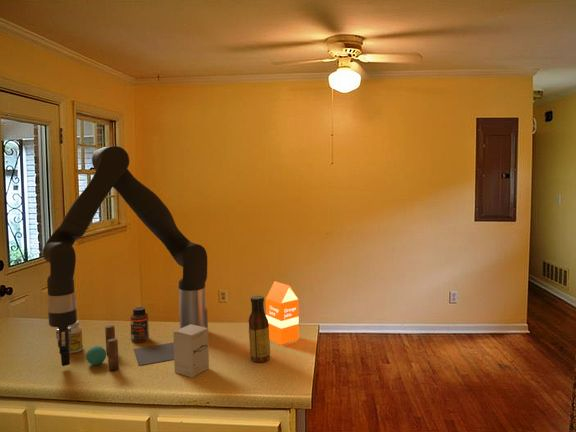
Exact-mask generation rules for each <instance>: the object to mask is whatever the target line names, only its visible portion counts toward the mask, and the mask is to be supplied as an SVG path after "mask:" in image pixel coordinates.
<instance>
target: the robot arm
mask: <svg viewBox="0 0 576 432" xmlns="http://www.w3.org/2000/svg"><path fill="white" fill-rule="evenodd" d="M91 164H92V167H93V168H94V170H95V172H94V175H93V176H92V178H91V180H90V181H89V183H88V184H87V186H86V187H85V188H84V190H83V191H82V192H81V193H80V194H79V195H78V197H76V199H75V200H74V201H73V203H72V204H71V206H70V208H69V209H68V211H67V212H66V215H64V218H63V219H62V221H61V223H60V224H59V226H58V227H57V228H56V229H55V231H54V232H53V233H52V234H51V236H50V237H49V238H48V239H47V241H46V243H45V244H44V246H43V249H42V257H43V258H44V260H45V261H46V262H47V263H49V265H50V268H49V269H50V272H49V273H50V274H49V276H48V277H47V281H46V284H47V285H46V287H47V314H48V316H47V318H48V326H50V327H51V328H58V329H56V332H55V336H56V337H55V338H56V341H57V347H58V349H59V351H58V352H59V355H60V358H61V359H60V360H61V366H62V367H65V366H69V365H70V364H71V362H70V361H71V360H70V356H71V355H70V354H71V353H70V345H71V328H68V326H69V325H73V324H75V323H76V322H77V320H78V312H77V299H76V297H77V296H76V294H75V281H74V275H75V271H76V270H75V269H76V261H77V259H76V250H75V249H74V247H73V245H74V244H75V242H76V241H77V240H78V239H80V238H82V237H83V236H84V235H85V233H86V232H87V229H88V228H89V227H90V225H91V223H92V221H93V219H94V217H95V215H96V214H97V212H98V211H99V208H100V207H101V205H102V203H104V200H105V199H106V197H107V196H108V194H109V193H110V191H111V190H112V189H114V190H116V192H117V193H118V194H119V195H120V196H121V198H122V199H123V201H124V202H125V203H126V204H127V206H129V208H130V209H131V210H132V211H133V212H134V214H135V215H136V216H137V217H138V218H139V220H140V221H141V222H142V223H143V225H145V226H146V228H148V229H149V231H150V232H151V233H152V234H153V235H154V236H155V237H156V238H157V239H158V240H159V241H160V242H161V243H162V244H163V245H164V247H165V248H166V249H167V251H168V252H169V254H170V255H171V256H172V258H173V260H174V261H175V263H176V264H178V265H179V266H180V267H182V278H180V279H179V281H178V302H179V303H178V304H179V329H181V328H183V327H185V326H188V325H190V324H192V325H196V326H201V327H205V328H208V329H209V326H208V325H209V324H208V321H209V320H208V308H207V306H206V305H207V303H206V282H207V279H208V254H207V251H206V249H205V247H204V246H203V245H201V244H198V243H194V242H192V241H190V240H189V239H188V238H187V237H186V236H185V235H184V233H182V232H181V231H180V229H179V227H178V226H177V224H176V222H175V219H174V218H173V215H172V212H171V210H169V208H168V207H167V205H166V204H165V203H164V202H163V201H162V200H161V198H160V197H159V196H158V195H157V194H156V193H155V192H154V191H152V190H151V189H150V188H149V187H147V186H146V185H145V184H143V183H142V182H141V181H140V180H138V179H137V178H136V177H135V176H134V175H133V174H132V173H131V171H130V170H129V169H128V168H129V166H130V155H129V154H128V152H127V151H126V149H125V148H123V147H121V146H118V145H109V146H105V147H101V148H98V149H96V150H95V151H94V152H93V154H92V158H91Z"/></svg>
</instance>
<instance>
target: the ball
mask: <svg viewBox="0 0 576 432" xmlns="http://www.w3.org/2000/svg"><path fill="white" fill-rule="evenodd" d="M106 357H107V354H106V349H105V348H104V347H102V346H98V345H95V346H92V347H91V348H89V349H88V350H87V352H86V356H85V359H86V361H87V362H88V364H90V365H92V366H99V365H101V364H102V363H104V362H105V360H106Z"/></svg>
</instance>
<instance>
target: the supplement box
mask: <svg viewBox="0 0 576 432" xmlns="http://www.w3.org/2000/svg"><path fill="white" fill-rule="evenodd" d="M172 333H173V342H174V360H173V361H174V363H173V364H174V366H173V367H174V372H175V373H176V374H180V375H183V376H187V377H188V378H194V377H195V376H197V375H199V374H201V373H202V372H205V371H206V370H208V369H210V359H209V358H210V357H209V356H210V355H209V353H210V352H209V349H210V348H209V327H208V328H205V327H201V326H196V325H192V324H190V325H188V326H185V327H183V328H181V329H180V328H179V329H175V330H174V331H173V332H172Z"/></svg>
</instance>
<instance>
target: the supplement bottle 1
mask: <svg viewBox="0 0 576 432" xmlns="http://www.w3.org/2000/svg"><path fill="white" fill-rule="evenodd" d="M68 328H71V345H70V353H69V354H71V353H72V354H74V352H75V353H78V352H80V351H82V350H83V348H84V345H83V331H82V327H81V326H80V321H79V320H78V319H77V322H76V323H75V324H73V325H69V326H68Z"/></svg>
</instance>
